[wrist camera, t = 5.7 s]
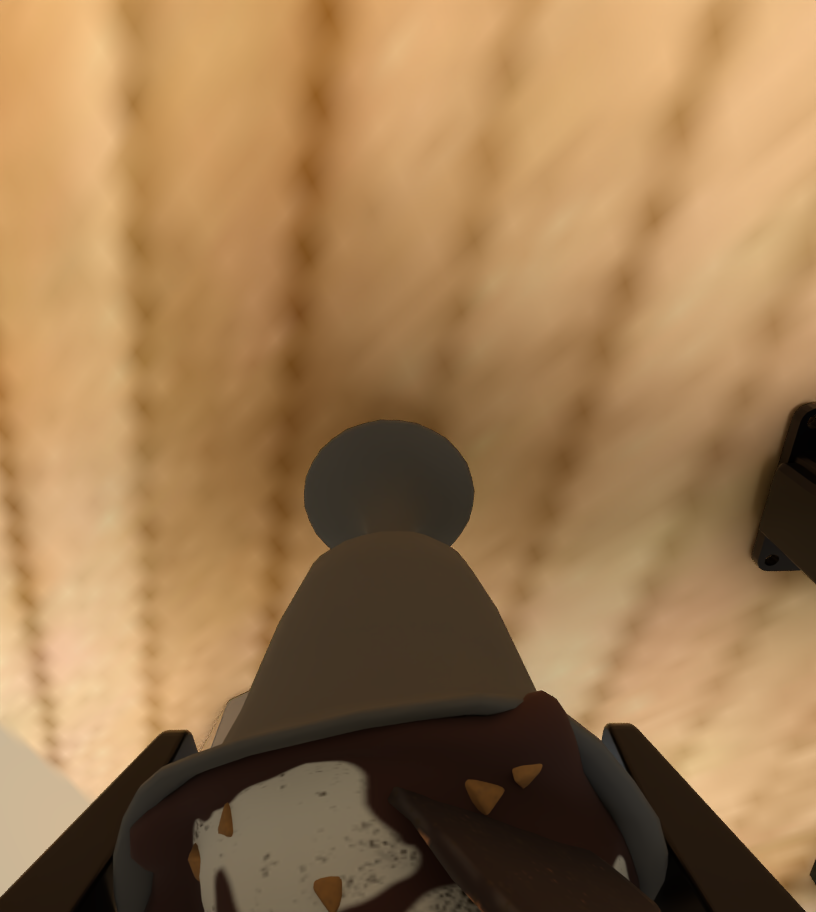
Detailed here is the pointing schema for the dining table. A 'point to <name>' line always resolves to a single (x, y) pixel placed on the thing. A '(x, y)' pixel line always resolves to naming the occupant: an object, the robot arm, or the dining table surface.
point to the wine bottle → (813, 873)
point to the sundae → (392, 736)
